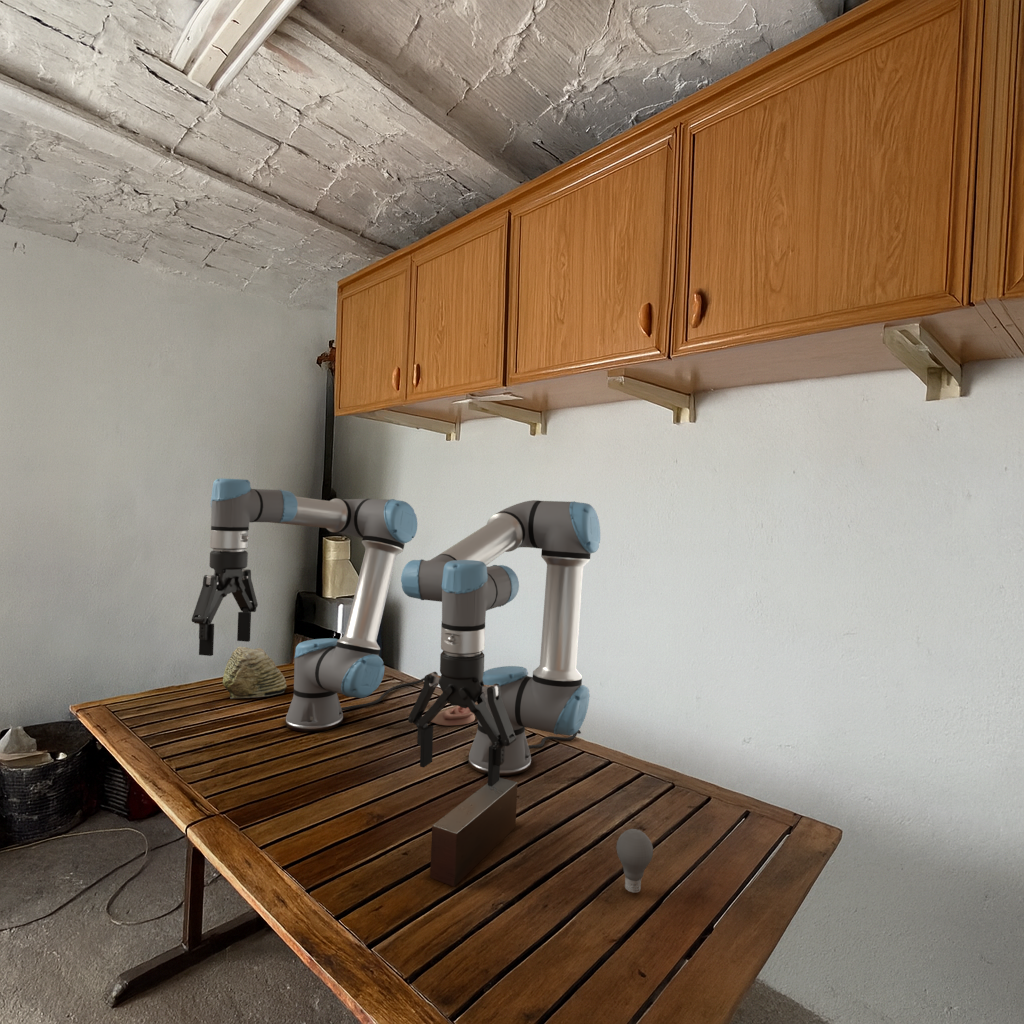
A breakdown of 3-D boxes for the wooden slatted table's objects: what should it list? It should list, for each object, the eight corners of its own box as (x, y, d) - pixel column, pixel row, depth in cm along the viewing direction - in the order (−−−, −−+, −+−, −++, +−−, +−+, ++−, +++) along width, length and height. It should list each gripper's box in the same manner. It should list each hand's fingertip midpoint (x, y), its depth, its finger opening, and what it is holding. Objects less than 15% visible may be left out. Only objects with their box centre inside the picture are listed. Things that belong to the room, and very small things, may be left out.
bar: (494, 820, 127) (495, 776, 127) (515, 827, 125) (517, 782, 125) (429, 877, 107) (432, 825, 107) (454, 886, 105) (456, 833, 105)
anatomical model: (423, 709, 179) (436, 697, 190) (423, 723, 179) (436, 710, 190) (469, 714, 176) (479, 702, 188) (468, 728, 177) (478, 715, 188)
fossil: (218, 695, 195) (220, 647, 195) (278, 685, 208) (279, 640, 207) (228, 703, 189) (230, 653, 188) (289, 692, 201) (290, 645, 201)
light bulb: (610, 879, 108) (613, 822, 108) (644, 879, 109) (647, 822, 109) (619, 902, 102) (622, 840, 102) (655, 901, 103) (658, 840, 103)
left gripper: (209, 555, 124) (205, 663, 124) (275, 547, 149) (272, 637, 149) (174, 553, 125) (170, 660, 125) (245, 545, 150) (242, 634, 150)
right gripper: (390, 645, 110) (387, 764, 111) (518, 668, 99) (513, 800, 100) (415, 637, 117) (412, 749, 118) (538, 657, 106) (533, 781, 107)
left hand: (225, 647), depth 137 cm, fingers open, 13 cm apart
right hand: (458, 773), depth 109 cm, fingers open, 13 cm apart
